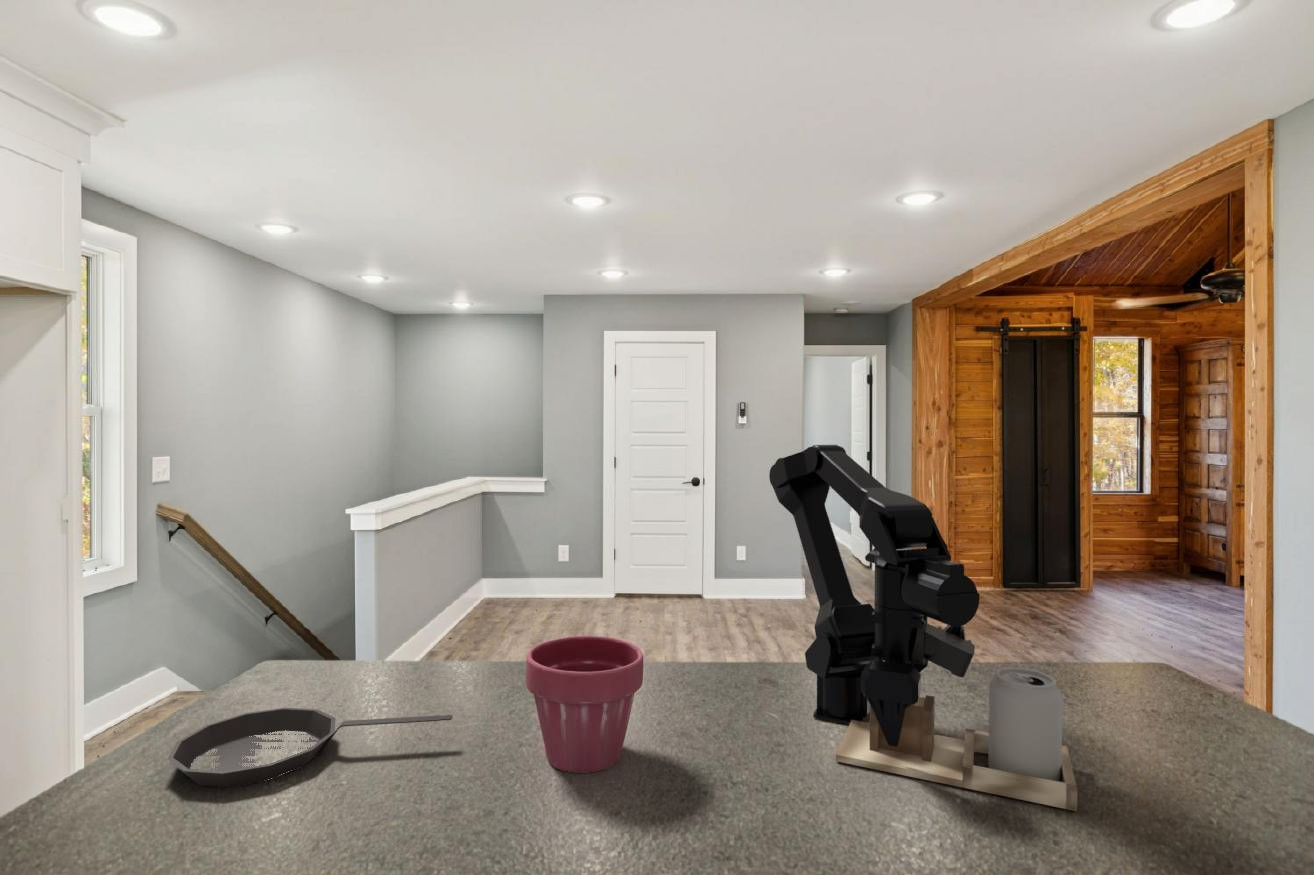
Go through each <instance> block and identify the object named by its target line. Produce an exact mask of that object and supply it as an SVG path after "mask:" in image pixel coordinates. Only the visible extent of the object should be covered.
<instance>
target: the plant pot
mask: <svg viewBox="0 0 1314 875" xmlns="http://www.w3.org/2000/svg"><path fill="white" fill-rule="evenodd" d="M525 661H526V662H525V664H526V665H525V666H526V667H525V685H526V688H527V690H528V691H529V692H530V693H531V694H533V696H534V697H533V698H534V701H535V706H536V712H537V716H538V721H539V727H540V730H541V731H540V732H541V735H542V740H543V745H544V750H545V756H546V759H547V762H548V763H549V764H550V765H551V766H552V765H553V766H552V767H554V768H556V769H558V770H560V771H562V772H563V771H564V772H566V771H568V772H567V773H572V772H574V773H573V774H589V772H591V773H594V772H595V773H596V772H600V771H603V770H606V769H608V768H611V767H612V766H613V765H615V764H616V763H618V761H619V760H620V758H621V755H622V752H623V747H624V743H625V739H626V734H627V732H628V731H627V730H628V726H629V722H630V717H631V712H632V707H633V702H634V697H635V694H636V692H637V691H639V689H640V688H641V687H642V686H643V681H644V654H643V651H642V649H641V648H640V647H639V646H637V645H635V644H633V643H632V642H629V641H626V640H623V639H619V638H615V637H609V636H599V635H580V636H579V635H576V636H566V637H560V638H554V639H551V640H547V641H544V642H541V643H538V644H537V645H535V646H533V647H531V648H530V649H529V650H528V652H527V654H526V660H525Z"/></svg>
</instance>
